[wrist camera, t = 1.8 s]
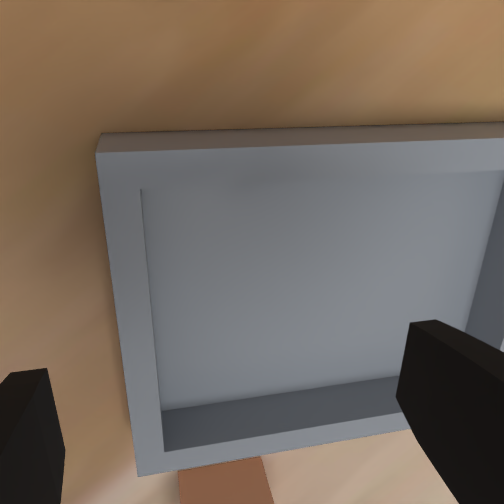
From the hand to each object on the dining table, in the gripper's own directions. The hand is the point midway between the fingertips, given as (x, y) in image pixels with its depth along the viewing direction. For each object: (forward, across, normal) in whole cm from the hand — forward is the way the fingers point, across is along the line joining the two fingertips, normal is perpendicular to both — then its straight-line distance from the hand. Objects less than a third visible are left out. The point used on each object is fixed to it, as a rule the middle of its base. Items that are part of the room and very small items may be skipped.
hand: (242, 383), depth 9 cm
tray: (+10, -6, +4) cm, 13 cm away
